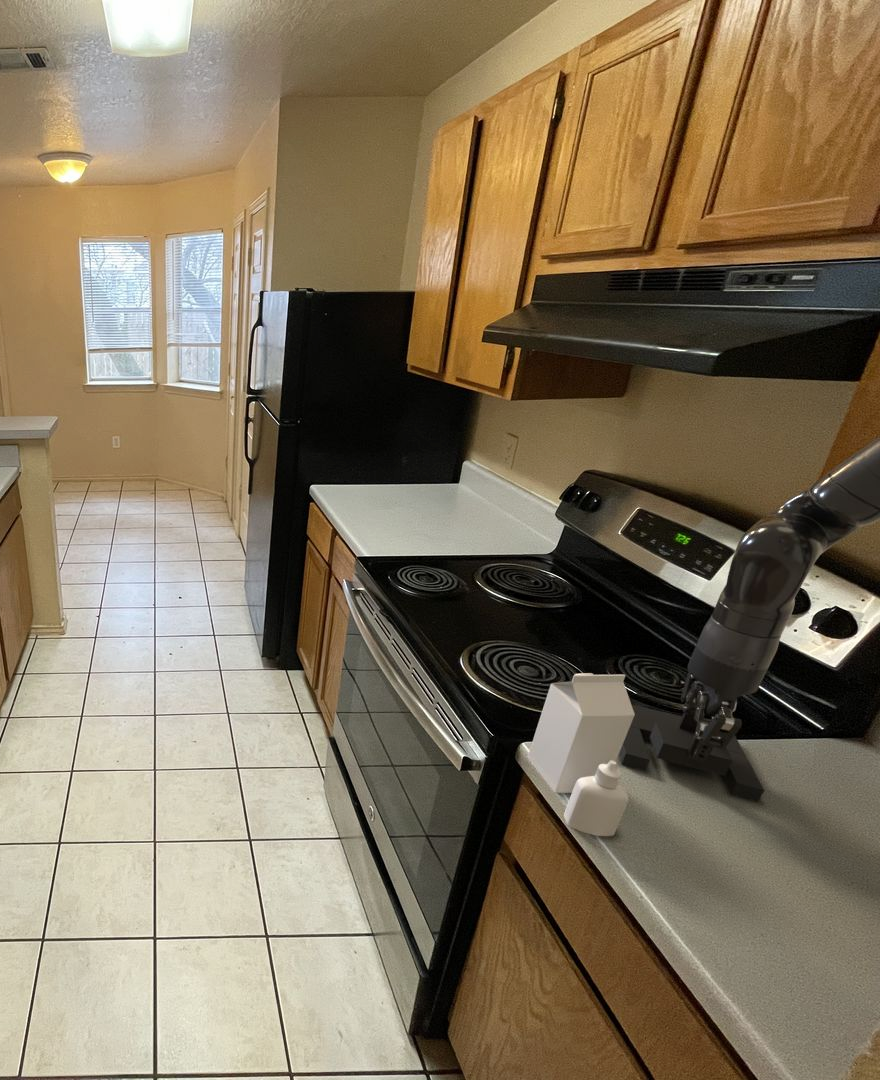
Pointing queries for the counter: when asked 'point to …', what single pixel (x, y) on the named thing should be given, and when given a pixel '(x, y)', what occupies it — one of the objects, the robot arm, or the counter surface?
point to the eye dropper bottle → (597, 802)
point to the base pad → (634, 750)
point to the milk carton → (580, 728)
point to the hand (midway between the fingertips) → (690, 746)
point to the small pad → (686, 749)
